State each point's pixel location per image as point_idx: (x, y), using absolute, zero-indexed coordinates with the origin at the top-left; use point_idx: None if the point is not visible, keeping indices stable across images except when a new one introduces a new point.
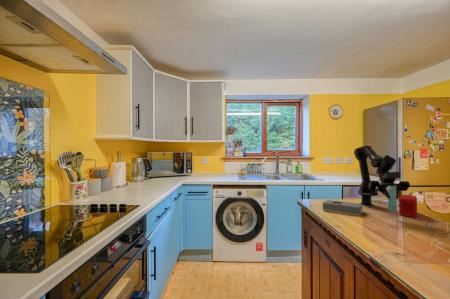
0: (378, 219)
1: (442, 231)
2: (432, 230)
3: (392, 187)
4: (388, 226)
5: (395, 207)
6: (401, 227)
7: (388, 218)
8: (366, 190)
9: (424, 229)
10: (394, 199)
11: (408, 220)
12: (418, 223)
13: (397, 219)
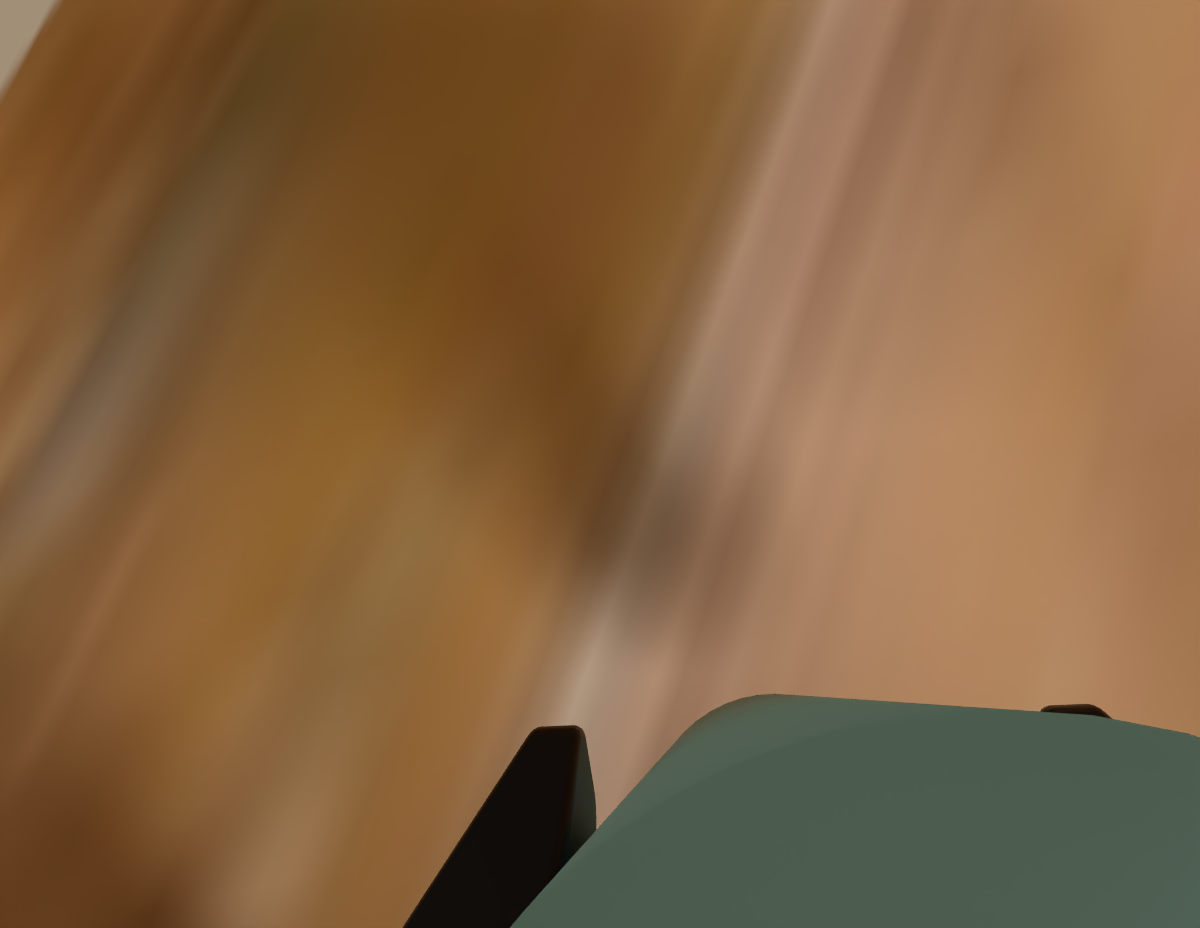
0: (1190, 621)
1: (89, 22)
2: (246, 29)
3: (1135, 726)
4: (1087, 34)
5: (707, 715)
6: (808, 46)
7: None
8: None
9: (372, 49)
10: (761, 701)
11: (387, 730)
12: (269, 496)
13: (643, 764)
